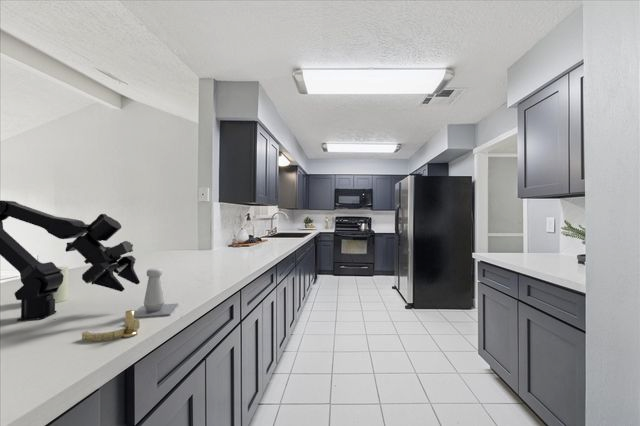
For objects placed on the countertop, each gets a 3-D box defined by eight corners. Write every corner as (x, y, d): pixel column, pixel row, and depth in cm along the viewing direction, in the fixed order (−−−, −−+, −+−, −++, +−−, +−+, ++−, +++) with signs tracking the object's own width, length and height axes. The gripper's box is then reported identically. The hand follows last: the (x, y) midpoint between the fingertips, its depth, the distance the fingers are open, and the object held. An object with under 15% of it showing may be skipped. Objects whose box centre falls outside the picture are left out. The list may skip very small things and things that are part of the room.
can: (51, 304, 98) (52, 269, 98) (25, 304, 98) (25, 269, 98) (75, 297, 107) (75, 265, 107) (50, 297, 107) (51, 265, 108)
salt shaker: (166, 306, 94) (166, 266, 94) (163, 311, 89) (163, 269, 89) (145, 308, 92) (145, 267, 92) (141, 313, 87) (142, 270, 87)
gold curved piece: (80, 339, 69) (80, 314, 70) (129, 322, 81) (129, 301, 81) (108, 346, 66) (109, 320, 66) (155, 327, 77) (155, 305, 77)
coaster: (128, 319, 84) (128, 317, 84) (141, 307, 94) (141, 305, 94) (169, 315, 86) (169, 313, 86) (178, 305, 97) (178, 303, 97)
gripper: (95, 234, 80) (136, 274, 81) (130, 231, 99) (163, 263, 100) (63, 263, 79) (105, 302, 80) (104, 254, 97) (138, 286, 99)
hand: (131, 286), depth 90 cm, fingers open, 9 cm apart
